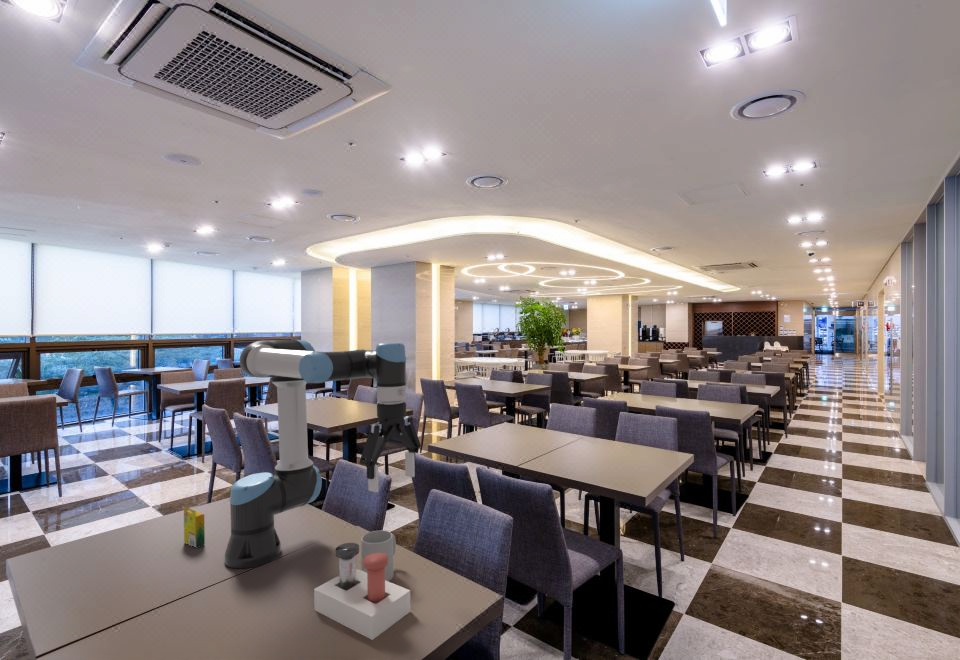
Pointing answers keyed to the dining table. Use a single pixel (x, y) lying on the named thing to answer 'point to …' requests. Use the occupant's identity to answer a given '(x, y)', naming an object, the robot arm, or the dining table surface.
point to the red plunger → (376, 576)
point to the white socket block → (362, 605)
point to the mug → (379, 549)
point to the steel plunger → (347, 564)
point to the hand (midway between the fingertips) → (392, 483)
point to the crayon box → (193, 528)
